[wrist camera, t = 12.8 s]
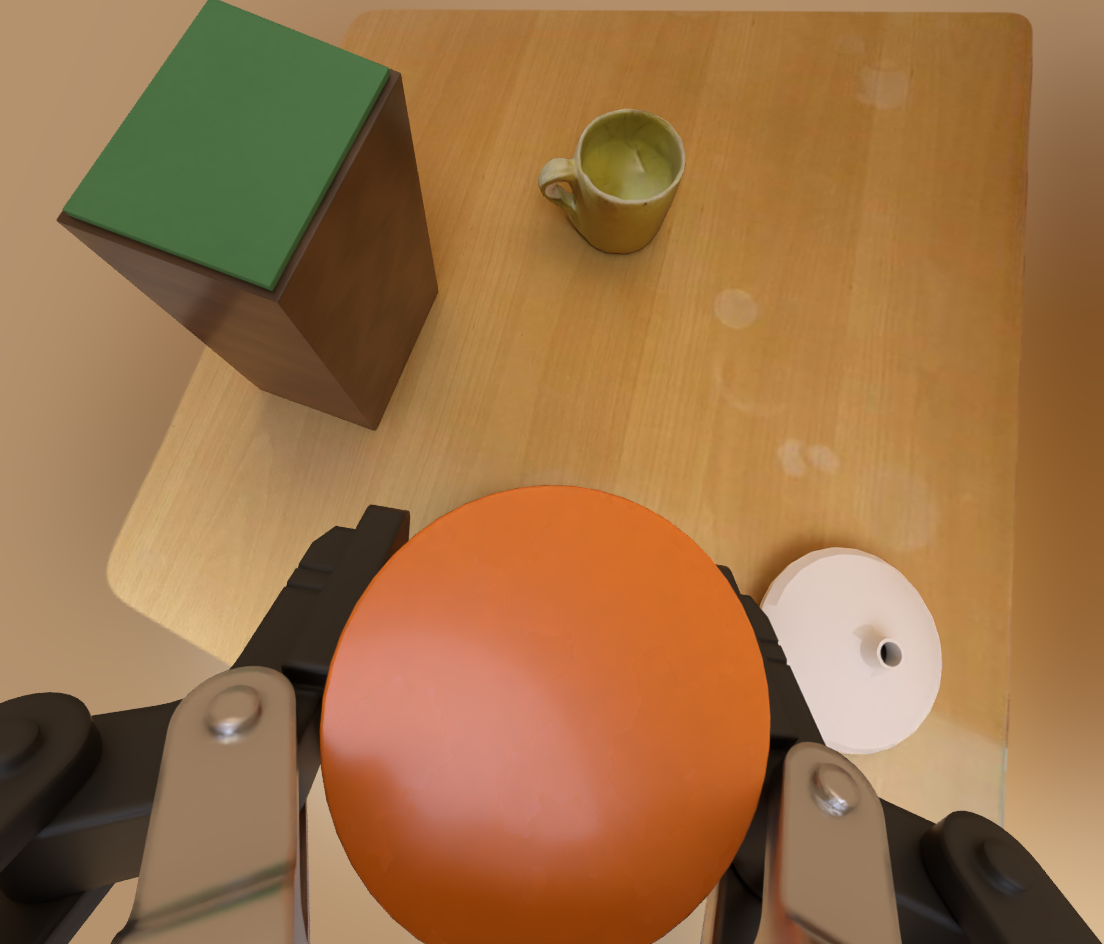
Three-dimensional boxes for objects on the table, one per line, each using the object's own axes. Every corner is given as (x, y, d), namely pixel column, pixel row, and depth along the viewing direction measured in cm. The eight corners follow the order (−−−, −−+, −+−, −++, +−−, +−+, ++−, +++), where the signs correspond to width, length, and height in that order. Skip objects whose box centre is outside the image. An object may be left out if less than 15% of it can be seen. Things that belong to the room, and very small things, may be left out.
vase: (711, 583, 42) (754, 584, 36) (863, 525, 45) (930, 516, 38) (784, 773, 40) (845, 814, 33) (940, 699, 43) (1026, 723, 36)
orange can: (572, 760, 14) (712, 1043, 6) (386, 697, 14) (228, 895, 5) (627, 572, 16) (810, 565, 7) (459, 511, 15) (429, 424, 7)
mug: (673, 155, 49) (693, 87, 39) (667, 263, 50) (685, 225, 40) (549, 156, 50) (537, 90, 40) (545, 262, 51) (533, 224, 41)
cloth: (273, 291, 22) (269, 286, 22) (68, 216, 22) (61, 209, 21) (390, 75, 25) (389, 67, 25) (214, 5, 25) (209, -4, 24)
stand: (375, 431, 42) (277, 302, 22) (259, 389, 41) (54, 220, 22) (438, 291, 45) (401, 72, 25) (331, 251, 44) (210, -4, 25)
